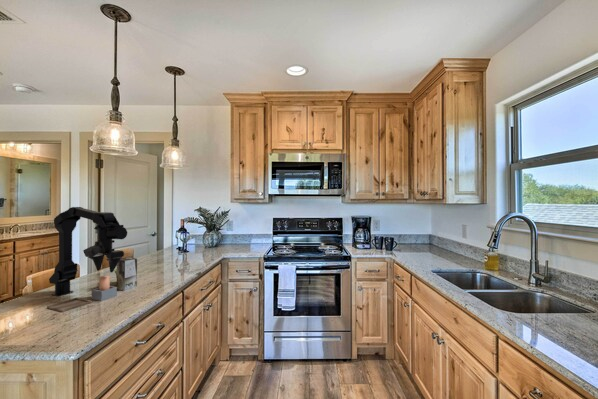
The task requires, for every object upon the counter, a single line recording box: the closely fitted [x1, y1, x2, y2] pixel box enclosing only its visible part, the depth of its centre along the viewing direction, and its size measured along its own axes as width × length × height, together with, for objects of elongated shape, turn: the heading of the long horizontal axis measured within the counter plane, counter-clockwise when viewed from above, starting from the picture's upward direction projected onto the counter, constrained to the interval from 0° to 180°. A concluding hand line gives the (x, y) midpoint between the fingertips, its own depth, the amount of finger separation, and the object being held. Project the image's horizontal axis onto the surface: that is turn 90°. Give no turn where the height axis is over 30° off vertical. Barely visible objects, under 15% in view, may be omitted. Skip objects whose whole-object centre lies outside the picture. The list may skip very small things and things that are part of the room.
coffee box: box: [116, 256, 138, 292], centre depth 143 cm, size 9×6×16 cm
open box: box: [91, 285, 118, 302], centre depth 128 cm, size 7×7×5 cm
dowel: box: [98, 274, 111, 291], centre depth 128 cm, size 4×4×10 cm
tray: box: [46, 297, 93, 313], centre depth 118 cm, size 11×11×1 cm
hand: (105, 271), depth 128 cm, fingers open, 9 cm apart
